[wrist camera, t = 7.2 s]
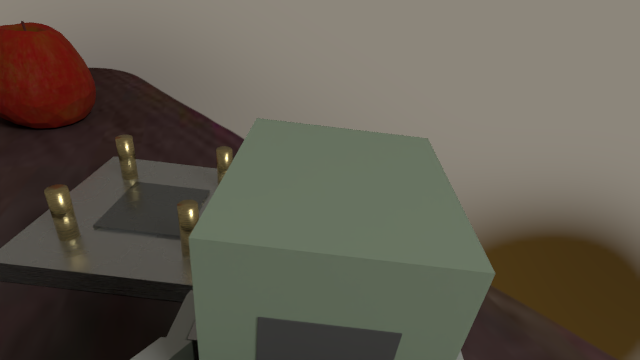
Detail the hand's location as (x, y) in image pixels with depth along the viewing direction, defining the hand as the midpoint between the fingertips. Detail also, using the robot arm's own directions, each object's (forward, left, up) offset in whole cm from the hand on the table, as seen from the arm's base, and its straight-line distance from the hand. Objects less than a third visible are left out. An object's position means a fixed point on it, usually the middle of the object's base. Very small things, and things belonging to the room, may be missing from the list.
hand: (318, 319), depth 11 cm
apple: (-32, +32, -10) cm, 46 cm away
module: (0, -1, -7) cm, 7 cm away
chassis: (-12, +15, -9) cm, 21 cm away
